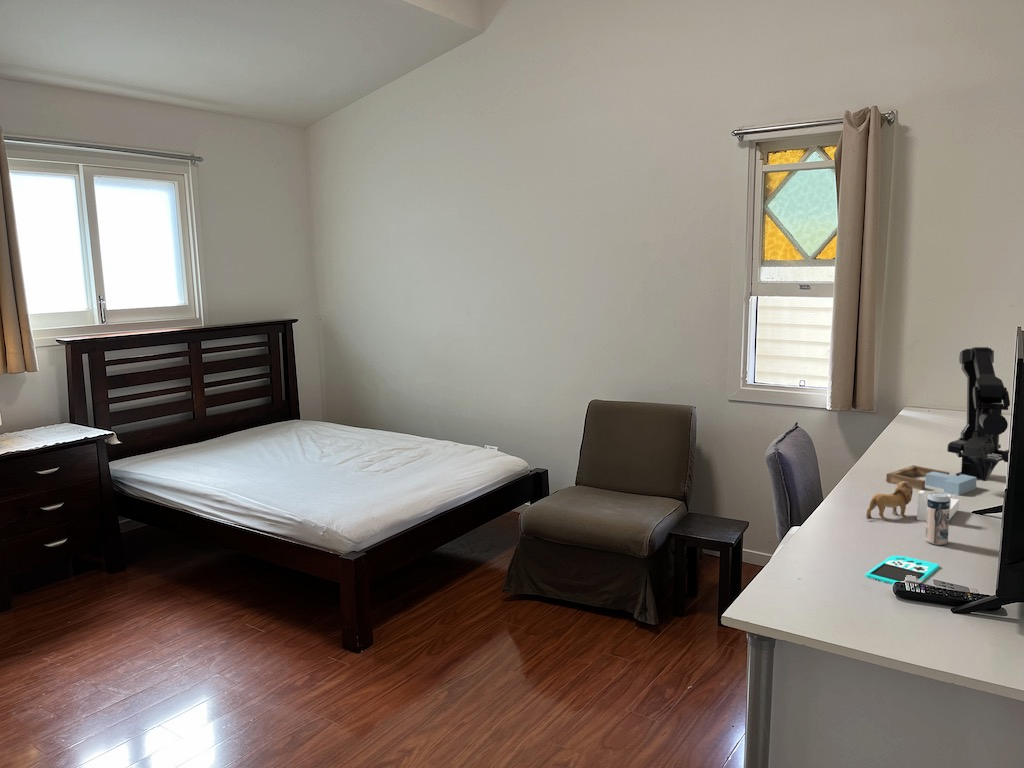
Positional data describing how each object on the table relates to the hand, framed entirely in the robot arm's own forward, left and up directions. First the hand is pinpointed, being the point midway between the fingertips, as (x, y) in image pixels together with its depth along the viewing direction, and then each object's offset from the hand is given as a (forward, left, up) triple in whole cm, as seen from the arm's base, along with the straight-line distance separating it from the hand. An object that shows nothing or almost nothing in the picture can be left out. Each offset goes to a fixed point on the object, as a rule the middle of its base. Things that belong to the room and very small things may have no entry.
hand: (984, 480), depth 213 cm
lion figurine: (+36, -7, -5) cm, 37 cm away
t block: (0, -10, -4) cm, 11 cm away
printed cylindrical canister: (+45, +11, -4) cm, 47 cm away
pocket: (0, -18, -4) cm, 19 cm away
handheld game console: (+68, +15, -5) cm, 69 cm away
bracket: (+26, +1, -5) cm, 26 cm away
